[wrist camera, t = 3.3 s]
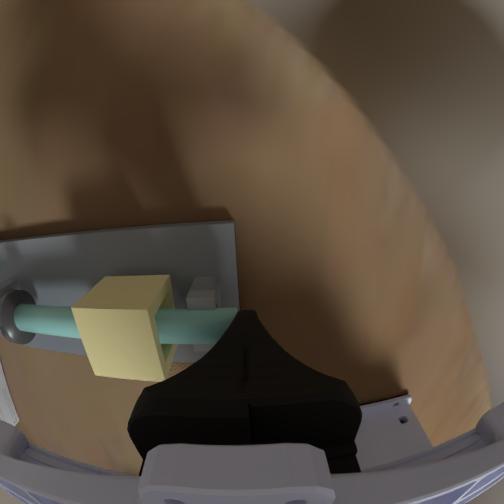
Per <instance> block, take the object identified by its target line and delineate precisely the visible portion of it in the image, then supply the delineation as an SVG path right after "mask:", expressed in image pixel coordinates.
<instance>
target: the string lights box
mask: <svg viewBox="0 0 504 504" xmlns="http://www.w3.org/2000/svg"><path fill="white" fill-rule="evenodd" d="M0 419H1V420H3V421H5V422H7V423H9V424H11V425H13V426H15V425H16V424H17V422H18V421H19V417H18V415H17V412H16V410H15V407H14V404H13V401H12V398H11V395H10V392H9V389H8V386H7V383H6V379H5V376H4V373H3V369H2V365H1V361H0Z"/></svg>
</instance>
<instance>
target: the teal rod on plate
mask: <svg viewBox="0 0 504 504" xmlns="http://www.w3.org/2000/svg"><path fill="white" fill-rule="evenodd" d="M140 275H170V279H171V286H172V292H173V299H174V305H175V309H158V311H157V313H156V314H155V320H156V325H157V329H158V334H159V338H160V342H161V344H178V346H177V349H176V352H175V355H174V358H173V361H172V362H188V363H195V362H197V361H198V360H199V359H201V358H202V357H203V356H204V355H205V354H206V353H207V352H208V351H209V350H210V349H211V348H212V347H213V346H214V345H215V344H216V343H217V342H218V340H219V339H220V338H221V337H222V336H223V334H224V333H225V331H226V330H227V329H228V327H229V326H230V324H231V322H232V321H233V319H234V317H235V315H236V313H237V312H238V311H240V302H239V287H238V271H237V255H236V238H235V221H234V220H223V221H205V222H189V223H174V224H160V225H146V226H134V227H122V228H110V229H99V230H89V231H79V232H69V233H59V234H50V235H41V236H33V237H25V238H17V239H9V240H1V241H0V282H1V283H0V332H2V334H3V335H4V337H5V338H6V339H7V340H8V341H10V342H13V343H17V344H22V345H25V346H30V347H35V348H40V349H46V350H52V351H58V352H64V353H71V354H78V355H86V356H87V353H86V350H85V348H84V345H83V342H82V340H81V337H80V334H79V331H78V328H77V325H76V322H75V319H74V315H73V312H72V309H71V307H72V306H73V305H75V304H76V303H77V302H78V301H79V300H80V299H81V298H82V297H83V296H84V295H85V294H86V293H87V292H89V291H90V290H91V289H92V288H93V287H94V286H95V285H96V284H97V283H98V282H100V281H101V280H102V279H103V278H104V277H105V276H140Z"/></svg>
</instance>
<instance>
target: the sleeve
mask: <svg viewBox="0 0 504 504" xmlns="http://www.w3.org/2000/svg"><path fill="white" fill-rule="evenodd" d="M71 309H72V312H73V315H74V319H75V322H76V325H77V328H78V331H79V334H80V337H81V340H82V342H83V345H84V348H85V350H86V353H87V356H88V358H89V361H90V363H91V366H92V368H93V371H94V373H95V375H98V376H105V377H113V378H122V379H132V380H143V381H157V382H162V381H164V380H166V379H167V376H168V373H169V370H170V367H171V364H172V361H173V358H174V355H175V352H176V349H177V346H178V344H161V342H160V338H159V334H158V329H157V325H156V320H155V314H156V313H157V311H158V309H175V305H174V299H173V292H172V286H171V279H170V275H140V276H105V277H104V278H103V279H102V280H101V281H100V282H98V283H97V284H96V285H95V286H94V287H93V288H92V289H91V290H90V291H89V292H87V293H86V294H85V295H84V296H83V297H82V298H81V299H80V300H79V301H78V302H77V303H76V304H75V305H73V306H72V307H71Z"/></svg>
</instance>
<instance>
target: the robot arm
mask: <svg viewBox="0 0 504 504" xmlns="http://www.w3.org/2000/svg"><path fill="white" fill-rule="evenodd" d="M411 400H412V398H411V396H410V395H405V396H401V397H397V398H393V399H389V400H385V401H381V402H376V403H372V404H367V405H362V406H360V405H359V403H358V401H357V399H356V397H355V396H354V394H353V392H352V391H351V389H350V388H349V386H348V385H347V383H346V382H345V381H342V380H339V379H336V378H333V377H330V376H328V375H325V374H322V373H320V372H318V371H316V370H314V369H312V368H310V367H308V366H306V365H304V364H303V363H301V362H300V361H298V360H297V359H295V358H294V357H292V356H291V355H290V354H289V353H287V352H286V351H285V350H284V349H283V348H282V347H281V346H280V345H279V344H278V343H277V342H276V341H275V340H274V339H273V338H272V337H271V335H270V334H269V333H268V331H267V330H266V329H265V327H264V326H263V325H262V323H261V321H260V320H259V318H258V316H257V313H256V312H255V311H254V310H241V311H238V312H237V313H236V315H235V317H234V319H233V321H232V322H231V324H230V326H229V327H228V329H227V330H226V331H225V333H224V334H223V336H222V337H221V338H220V339H219V340H218V342H217V343H216V344H215V345H214V346H213V347H212V348H211V349H210V350H209V351H208V352H207V353H206V354H205V355H204V356H203V357H202V358H201V359H199V360H198V361H197V362H195V363H194V364H192V365H191V366H190V367H188V368H187V369H185V370H183V371H182V372H180V373H178V374H176V375H174V376H172V377H171V378H168V379H166V380H164V381H162V382H159V383H156V384H154V385H151V386H149V387H146V388H144V389H143V391H142V393H141V395H140V396H139V398H138V400H137V402H136V404H135V406H134V409H133V411H132V414H131V417H130V419H129V422H128V428H127V430H128V433H129V436H130V438H131V440H132V441H133V443H134V445H135V447H136V448H137V450H138V452H139V454H140V455H141V457H142V459H143V462H142V466H141V469H140V473H139V476H135V475H130V474H125V473H120V472H116V471H112V470H108V469H104V468H100V467H96V466H93V465H89V464H86V463H83V462H79V461H76V460H73V459H70V458H67V457H64V456H62V455H59V454H56V453H54V452H51V451H48V450H46V449H43V448H41V447H38V446H36V445H34V444H32V443H29V442H28V440H27V438H26V437H25V435H24V434H23V433H22V432H21V431H20V430H19V429H18V428H16V427H15V426H13V425H11V424H9V423H7V422H5V421H3V420H1V419H0V487H2V488H3V489H4V490H5V491H6V492H7V493H8V494H10V495H11V496H13V497H14V498H16V499H17V500H19V501H21V502H22V503H24V504H465V503H467V502H468V501H470V500H472V499H473V498H475V497H476V496H478V495H479V494H481V493H482V492H484V491H485V490H487V489H488V488H490V487H491V486H493V485H494V484H495V483H497V482H498V481H499V480H501V479H502V478H503V477H504V402H503V403H501V404H500V405H498V406H496V407H494V408H492V409H491V410H489V411H488V412H486V413H485V414H484V415H483V416H482V417H481V419H480V420H479V422H478V423H477V425H476V428H474V429H472V430H470V431H468V432H466V433H464V434H462V435H460V436H458V437H456V438H454V439H451V440H449V441H447V442H445V443H442V444H440V445H438V446H435V447H433V446H432V444H431V442H430V440H429V438H428V437H427V435H426V433H425V431H424V430H423V428H422V426H421V424H420V423H419V421H418V419H417V417H416V416H415V414H414V412H413V410H412V409H411V407H410V403H411Z"/></svg>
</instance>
